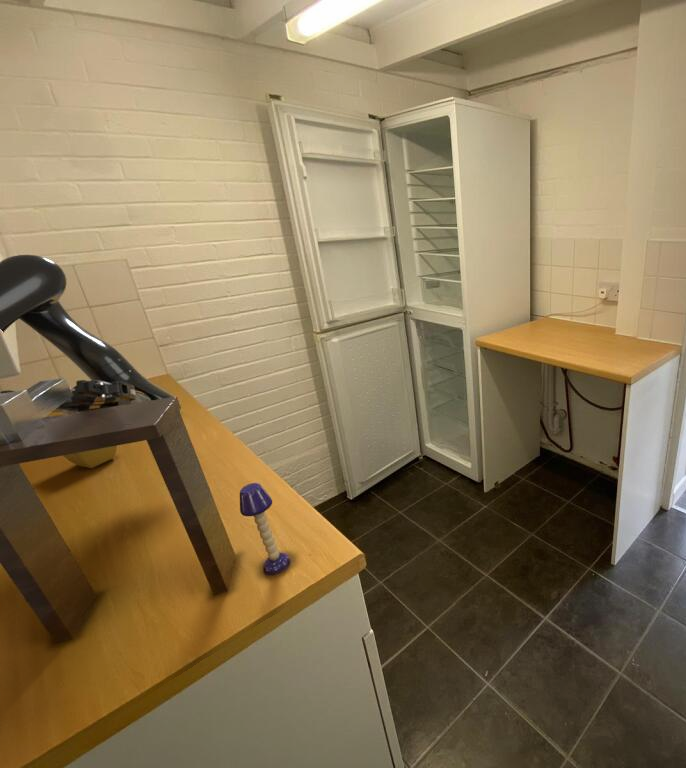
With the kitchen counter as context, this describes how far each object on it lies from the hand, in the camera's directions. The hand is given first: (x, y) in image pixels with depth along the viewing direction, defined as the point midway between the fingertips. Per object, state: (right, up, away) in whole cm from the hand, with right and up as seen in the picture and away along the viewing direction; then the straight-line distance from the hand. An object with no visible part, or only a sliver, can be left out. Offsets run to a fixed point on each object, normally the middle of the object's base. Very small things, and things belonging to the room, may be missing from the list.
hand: (42, 392), depth 61 cm
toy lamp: (+27, -31, +13) cm, 43 cm away
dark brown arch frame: (+10, -34, +7) cm, 36 cm away
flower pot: (-37, -19, +45) cm, 62 cm away
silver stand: (+2, -4, -3) cm, 5 cm away
